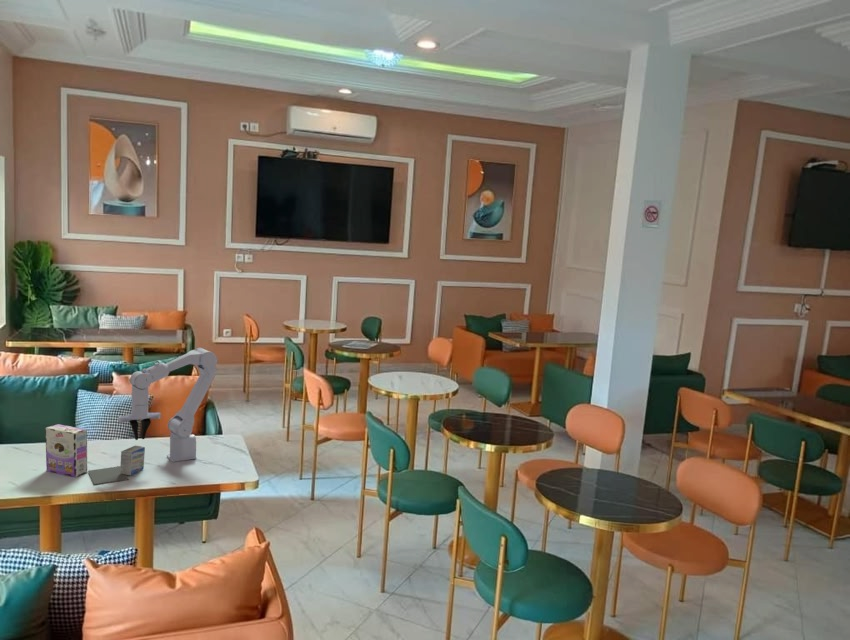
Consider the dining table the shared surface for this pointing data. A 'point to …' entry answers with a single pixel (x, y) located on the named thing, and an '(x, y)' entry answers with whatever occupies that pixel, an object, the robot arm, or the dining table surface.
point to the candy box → (66, 450)
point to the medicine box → (132, 460)
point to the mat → (106, 475)
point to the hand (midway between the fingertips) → (139, 438)
